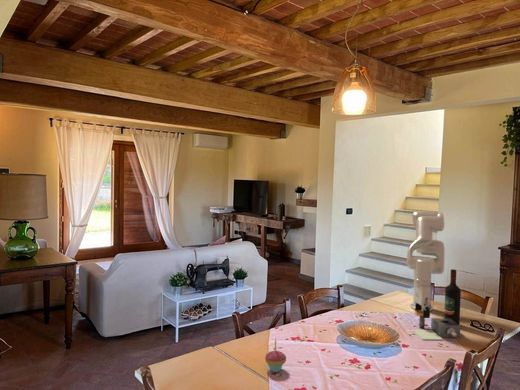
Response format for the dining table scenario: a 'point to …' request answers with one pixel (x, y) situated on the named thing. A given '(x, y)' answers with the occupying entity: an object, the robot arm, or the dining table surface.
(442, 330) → the chuck block
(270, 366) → the cupcake
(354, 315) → the dining table surface
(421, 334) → the mat
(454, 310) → the wine bottle
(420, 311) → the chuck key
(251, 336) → the dining table surface
